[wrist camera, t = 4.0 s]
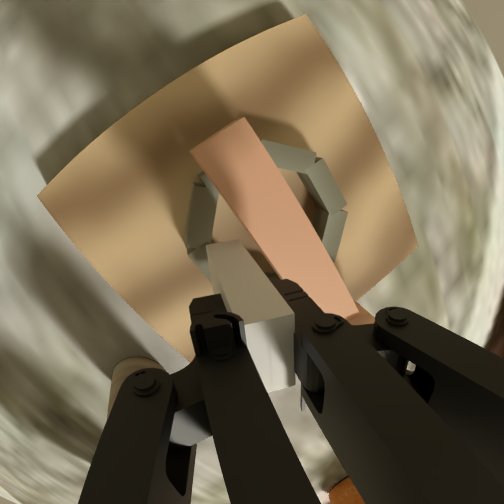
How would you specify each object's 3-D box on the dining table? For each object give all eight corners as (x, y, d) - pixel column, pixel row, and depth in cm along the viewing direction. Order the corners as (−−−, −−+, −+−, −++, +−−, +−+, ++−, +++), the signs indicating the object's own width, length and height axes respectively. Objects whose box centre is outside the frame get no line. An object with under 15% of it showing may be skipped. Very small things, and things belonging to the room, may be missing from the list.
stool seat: (49, 190, 14) (24, 201, 11) (292, 24, 15) (318, 4, 12) (222, 375, 22) (232, 408, 19) (402, 238, 22) (432, 252, 19)
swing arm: (370, 326, 19) (393, 347, 17) (324, 362, 19) (343, 387, 17) (248, 111, 13) (266, 104, 10) (174, 162, 13) (175, 165, 10)
